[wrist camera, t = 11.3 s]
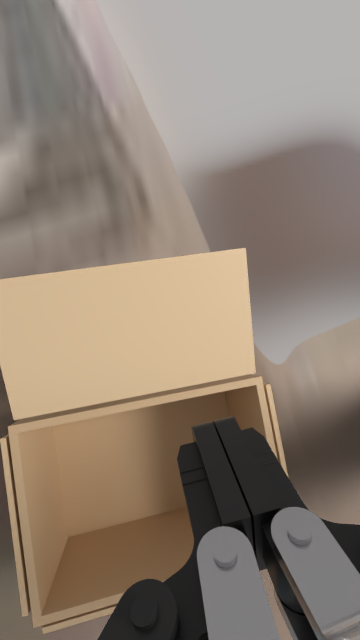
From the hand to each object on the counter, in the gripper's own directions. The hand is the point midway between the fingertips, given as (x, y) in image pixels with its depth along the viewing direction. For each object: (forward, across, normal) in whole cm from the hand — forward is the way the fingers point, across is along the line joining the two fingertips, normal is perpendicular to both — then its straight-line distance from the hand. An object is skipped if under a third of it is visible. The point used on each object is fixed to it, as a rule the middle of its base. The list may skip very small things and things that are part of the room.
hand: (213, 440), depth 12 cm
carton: (+19, +4, +19) cm, 27 cm away
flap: (+13, +3, +7) cm, 15 cm away
